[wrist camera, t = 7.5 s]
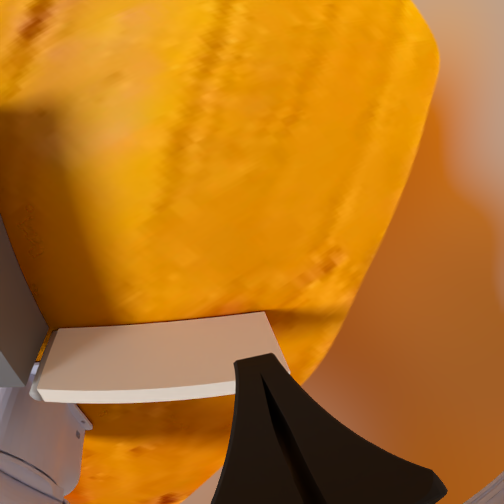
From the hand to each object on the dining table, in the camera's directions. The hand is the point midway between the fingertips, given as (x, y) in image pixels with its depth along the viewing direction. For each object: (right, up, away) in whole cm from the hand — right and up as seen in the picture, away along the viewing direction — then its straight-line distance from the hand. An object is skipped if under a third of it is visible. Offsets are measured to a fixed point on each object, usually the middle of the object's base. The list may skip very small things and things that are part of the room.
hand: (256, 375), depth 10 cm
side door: (-7, -1, +10) cm, 13 cm away
